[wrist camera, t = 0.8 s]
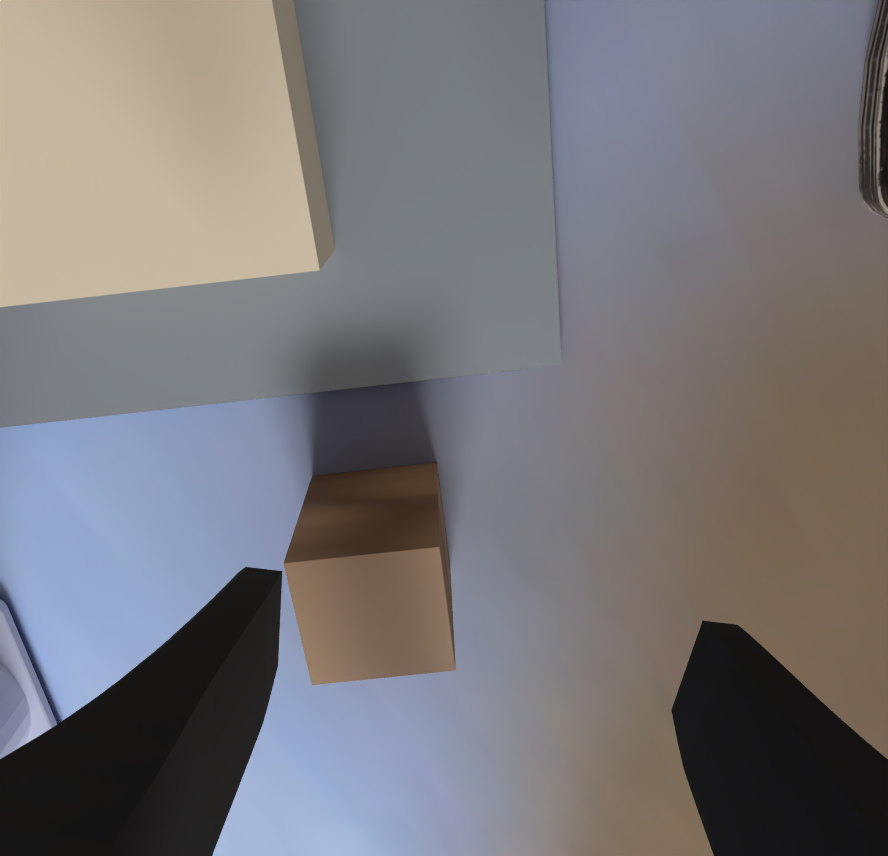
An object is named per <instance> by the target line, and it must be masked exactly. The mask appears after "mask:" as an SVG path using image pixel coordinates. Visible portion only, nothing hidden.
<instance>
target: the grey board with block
mask: <svg viewBox="0 0 888 856" xmlns="http://www.w3.org/2000/svg"><path fill="white" fill-rule="evenodd" d="M558 365H562V361H561V341H560V320H559V299H558V278H557V257H556V236H555V215H554V195H553V174H552V153H551V132H550V111H549V90H548V70H547V49H546V28H545V7H544V0H0V428H1V427H10V426H19V425H28V424H37V423H46V422H55V421H64V420H73V419H82V418H91V417H100V416H109V415H118V414H127V413H136V412H145V411H154V410H163V409H172V408H181V407H190V406H199V405H208V404H217V403H226V402H235V401H244V400H253V399H262V398H271V397H280V396H289V395H297V394H306V393H315V392H324V391H333V390H342V389H351V388H360V387H369V386H378V385H387V384H396V383H405V382H414V381H423V380H432V379H441V378H450V377H459V376H468V375H477V374H486V373H495V372H504V371H513V370H522V369H531V368H540V367H549V366H558Z"/></svg>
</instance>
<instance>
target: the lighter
mask: <svg viewBox="0 0 888 856" xmlns="http://www.w3.org/2000/svg"><path fill="white" fill-rule="evenodd" d="M859 188H860V192H861V197H862V200H863V201H864V203H865V204H866V205H867V206H868V208H869V209H870V210H871V211H872V212H874V213H876V214H878V215H880V216H882V217H885V218H888V0H879V4H878V8H877V13H876V17H875V21H874V26H873V30H872V34H871V39H870V43H869V48H868V52H867V56H866V61H865V70H864V80H863V90H862V99H861V109H860V119H859Z"/></svg>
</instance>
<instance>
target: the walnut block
mask: <svg viewBox="0 0 888 856" xmlns="http://www.w3.org/2000/svg"><path fill="white" fill-rule="evenodd" d="M284 567H285V571H286V576H287V580H288V584H289V589H290V593H291V597H292V601H293V606H294V610H295V614H296V618H297V623H298V627H299V631H300V636H301V640H302V644H303V648H304V653H305V657H306V661H307V666H308V670H309V674H310V678H311V683H312V685H316V684H326V683H336V682H346V681H355V680H365V679H375V678H385V677H395V676H404V675H414V674H424V673H434V672H444V671H453V670H456V668H455V649H454V630H453V611H452V592H451V573H450V562H449V554H448V546H447V538H446V530H445V523H444V515H443V507H442V499H441V491H440V483H439V475H438V467H437V462H436V463H427V464H418V465H408V466H399V467H390V468H381V469H371V470H362V471H353V472H344V473H335V474H325V475H316V476H312V479H311V482H310V485H309V488H308V491H307V494H306V497H305V500H304V503H303V506H302V509H301V512H300V515H299V518H298V521H297V524H296V527H295V530H294V533H293V536H292V539H291V543H290V546H289V549H288V552H287V555H286V558H285V561H284Z"/></svg>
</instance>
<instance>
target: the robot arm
mask: <svg viewBox="0 0 888 856" xmlns="http://www.w3.org/2000/svg"><path fill="white" fill-rule="evenodd" d="M281 585H282V571H275V570H267V569H258V568H250V567H245V568H244V569H242V570H241V571H240V572H238V573H237V574H236V575H235V577H234V578H233V579H232V580H231V581H230V582H229V583H228V584H227V585H226V586H225V587H224V588H223V589H222V590H221V591H220V592H219V593H218V594H217V595H216V596H215V597H214V598H213V599H212V600H211V601H210V602H209V603H208V604H206V605H205V606H204V607H203V608H202V609H201V610H200V611H199V612H198V613H197V614H196V615H195V616H194V617H193V618H192V619H191V620H190V621H188V622H187V623H186V624H185V625H184V626H183V627H182V628H181V629H180V630H179V631H177V632H176V633H175V634H174V635H173V636H172V637H171V638H170V639H169V640H167V641H166V642H165V643H164V644H163V645H162V646H161V647H159V648H158V649H157V650H156V651H155V652H153V653H152V654H151V655H150V656H149V657H147V658H146V659H145V660H144V661H142V662H141V663H140V664H139V665H138V666H136V667H135V668H134V669H133V670H131V671H130V672H129V673H128V674H126V675H125V676H124V677H123V678H122V679H120V680H119V681H118V682H116V683H115V684H114V685H112V686H111V687H110V688H108V689H107V690H106V691H104V692H103V693H102V694H100V695H99V696H98V697H96V698H95V699H93V700H92V701H91V702H89V703H88V704H86V705H85V706H84V707H82V708H81V709H79V710H78V711H76V712H75V713H73V714H72V715H71V716H69V717H68V718H66V719H65V720H63V721H62V722H60V723H59V724H57V722H56V720H55V718H54V715H53V713H52V711H51V708H50V706H49V703H48V701H47V699H46V696H45V694H44V692H43V689H42V687H41V685H40V682H39V680H38V677H37V675H36V673H35V670H34V668H33V666H32V663H31V661H30V659H29V656H28V654H27V651H26V649H25V647H24V644H23V642H22V640H21V637H20V635H19V633H18V630H17V628H16V625H15V623H14V621H13V618H12V616H11V614H10V611H9V609H8V607H7V605H6V604H5V602H3V601H2V600H1V599H0V856H212V854H213V852H214V849H215V846H216V844H217V841H218V839H219V836H220V834H221V831H222V828H223V826H224V823H225V821H226V818H227V815H228V813H229V810H230V808H231V805H232V802H233V800H234V797H235V795H236V792H237V790H238V787H239V784H240V782H241V779H242V777H243V774H244V771H245V769H246V766H247V764H248V761H249V758H250V756H251V753H252V751H253V748H254V745H255V743H256V740H257V737H258V735H259V732H260V729H261V727H262V724H263V721H264V717H265V714H266V710H267V706H268V702H269V699H270V695H271V691H272V687H273V683H274V679H275V675H276V671H277V667H278V651H279V629H280V607H281ZM672 715H673V720H674V725H675V730H676V736H677V741H678V745H679V750H680V754H681V758H682V763H683V767H684V771H685V774H686V777H687V780H688V783H689V786H690V789H691V791H692V794H693V797H694V800H695V803H696V806H697V809H698V812H699V815H700V818H701V820H702V823H703V826H704V829H705V832H706V834H707V837H708V840H709V843H710V846H711V849H712V851H713V854H714V856H888V759H886V758H885V757H884V756H883V755H882V754H880V753H879V752H878V751H877V750H876V749H875V748H873V747H872V746H871V745H870V744H869V743H867V742H866V741H865V740H864V739H863V738H862V737H860V736H859V735H858V734H857V733H856V732H855V731H854V730H852V729H851V728H850V727H849V726H848V725H847V724H846V723H844V722H843V721H842V720H841V719H840V718H839V717H838V716H837V715H836V714H834V713H833V712H832V711H831V710H830V709H829V708H828V707H827V706H826V705H825V704H824V703H822V702H821V701H820V700H819V699H818V698H817V697H816V696H815V695H814V694H813V693H812V692H810V691H809V690H808V689H807V688H806V687H805V686H804V685H803V684H802V683H801V682H800V681H799V680H798V679H797V678H796V677H794V676H793V675H792V674H791V673H790V672H789V671H788V670H787V669H786V668H785V667H784V666H783V665H782V664H781V663H780V662H778V661H777V660H776V659H775V658H774V657H773V656H772V655H771V654H770V653H769V652H768V651H767V650H766V649H765V648H763V647H762V646H761V645H760V644H759V643H758V642H757V641H756V640H755V639H754V638H752V637H751V636H750V635H749V634H748V633H747V632H746V631H744V630H743V629H742V628H741V627H740V626H738V625H734V624H726V623H717V622H709V621H702V624H701V627H700V630H699V633H698V636H697V638H696V641H695V644H694V647H693V650H692V653H691V656H690V659H689V661H688V664H687V667H686V670H685V673H684V676H683V679H682V682H681V684H680V687H679V690H678V693H677V696H676V699H675V702H674V705H673V707H672Z"/></svg>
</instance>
